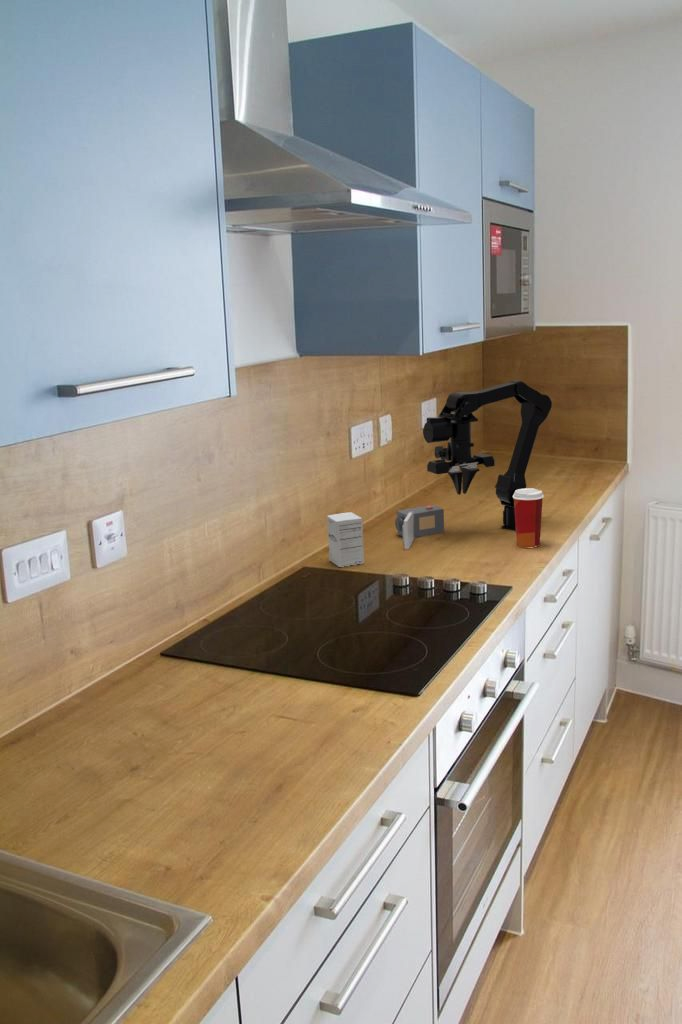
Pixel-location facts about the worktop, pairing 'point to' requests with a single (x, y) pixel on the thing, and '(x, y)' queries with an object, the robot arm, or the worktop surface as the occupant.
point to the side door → (408, 530)
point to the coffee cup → (528, 516)
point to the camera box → (422, 520)
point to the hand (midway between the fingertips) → (461, 493)
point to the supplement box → (345, 539)
